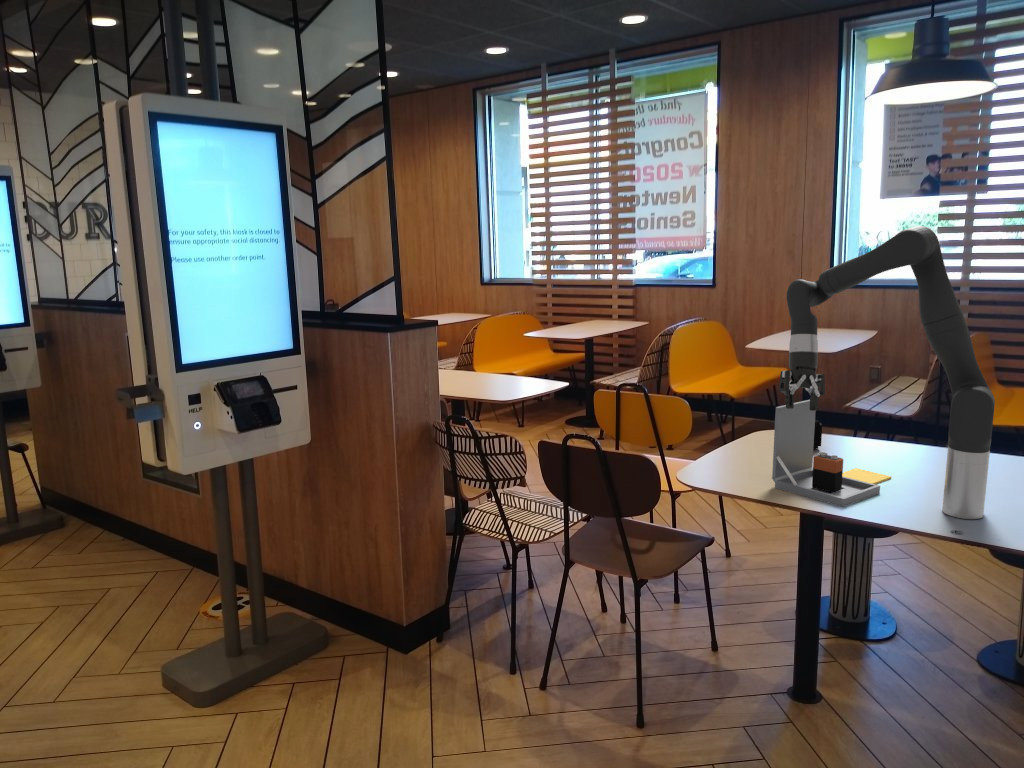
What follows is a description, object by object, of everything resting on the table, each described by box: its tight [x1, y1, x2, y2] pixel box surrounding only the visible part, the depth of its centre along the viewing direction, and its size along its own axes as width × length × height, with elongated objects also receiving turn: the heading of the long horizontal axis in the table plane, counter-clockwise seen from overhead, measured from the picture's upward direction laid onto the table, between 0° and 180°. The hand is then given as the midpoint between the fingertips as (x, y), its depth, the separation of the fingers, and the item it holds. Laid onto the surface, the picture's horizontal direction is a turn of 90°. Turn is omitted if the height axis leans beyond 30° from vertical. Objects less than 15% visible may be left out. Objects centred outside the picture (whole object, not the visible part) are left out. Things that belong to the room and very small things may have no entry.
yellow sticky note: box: [842, 467, 892, 485], centre depth 234 cm, size 11×11×1 cm
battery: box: [812, 451, 844, 493], centre depth 222 cm, size 4×7×10 cm, turn 39°
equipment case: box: [771, 399, 881, 508], centre depth 221 cm, size 18×22×23 cm
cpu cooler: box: [813, 419, 823, 450], centre depth 266 cm, size 10×6×10 cm, turn 82°
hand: (801, 409), depth 221 cm, fingers open, 8 cm apart
